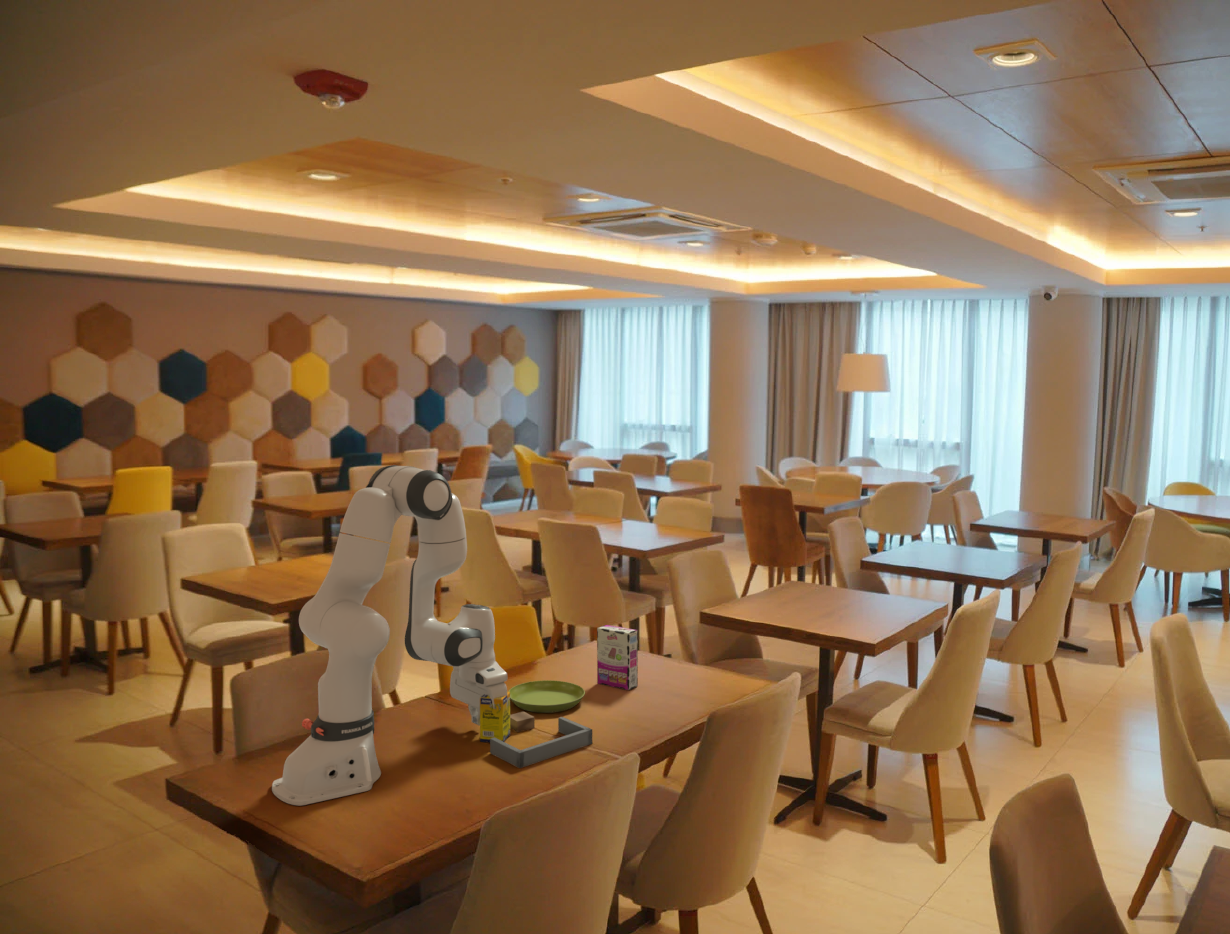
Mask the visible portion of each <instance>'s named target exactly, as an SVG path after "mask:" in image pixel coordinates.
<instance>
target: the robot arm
mask: <svg viewBox="0 0 1230 934" xmlns="http://www.w3.org/2000/svg"><path fill="white" fill-rule="evenodd" d="M401 516H405V517H412V518H413V517H414V519H415V520H416V523H417V534H418V535H417V536H418V537H417V539H418V553H417V558H416V559H415V560H414V561H413V563H412V566H411V571H410V582H409V598H408V618H407V623H406V630H405V632H404V646H405V650H406V652H407V654H408V655H409V656H410V658H412V659H414V660H416V661H425V662H431V663H436V664H439V665H440V664H441V665H445V666H449V667H452V669H453V670H452V671H451V674H450V683H449V694H450V696H451V698H453V699H455V700H457V701H460V702H462V703H464V704H466V705H467V706H468V710H469V714H470V717H471V723H472V724H475V725H478V726H479V727H480V697H481V696H483V695H484V694H486V695H488V696H489V697H490V698H491V700H492V704H493V708H494V698H498V697H502V696H507V692H508V687H507V684H506V683H505V682H508V672H506V671H505V669H503V668H502V667H501V666H500V665H499V663H498V662H497V661H496V653H495V650H494V644H495V641H496V640H495V639H496V635H495V634H496V632H495V631H496V629H495V619H494V614H493V611H492V609H491V608H490V607H488V606H486V605H481V604H473V603H471V604H470V603H467V604H464V605H462V606H461V607H460V610H459V613H458V614H457V615H456V617H455V618H453V619H452V620H451V621H450V622H447V623H446V622H443V621H439V620H438V619H437V618H436V616H435V614H434V612H435V611H434V608H435V589H436V585H437V582H438V581H439V579H441V578H444V577H446V576H449V575H452V574H453V573H455V572H457V571H458V570H459V569H460V568H461V567H462V566H463V565H464V563H465V561H466V559H467V554H468V540H467V530H466V523H465V516H464V512H463V508H462V505H461V501H460V499H459V498H458V496H457V495H456V494H454V493H452V489H451V485H450V484H449V482H448V480H447V479H446V477H444V476H443V475H442V474H441V473H438V472H436V471H434V470H431V469H422V468H418V467H417V466H412V465H395V464H393V465H392V464H391V465H385V466H383V467H380V468H378V469H377V470H376V471H375V472H374V473H373V474H372V475H371V477H370V479H369V481H368V483H367V484H366V486H365V487H364V488H361V489H360V488H359V490H357V491H355V493H354V495H353V496H352V498H351V500H350V501H349V504H348V507H347V509H346V512H345V514H344V517H343V520H342V523H341V526H340V530H339V533H338V537H337V542H336V545H335V548H334V553H333V556H332V560H331V563H330V567H329V568H328V572H327V573H326V576H325V578H324V579H323V581H322V583H321V585H320V587H319V589H317V592H316V594H315V595H314V596H313V597H312V598H311V599H309V600H308V601H307V602H305V604H304V605H303V607H302V608H301V610H300V611H299V616H298V624H299V625H298V626H299V629H300V630H301V632H302V633H303V634H304V635H305V637H306V638H308V639H309V641H311V642H312V643H314V644H315V645H317V646H320V647H322V648H325V649H327V650H328V662H327V666H326V669H325V672H324V673H323V674H322V675H321V676H320V678H319V679H318V682H317V686H318V687H317V693H318V695H317V699H318V700H317V701H318V715H317V716H316V719H315V720H314V721H313V720H311V719H310V718H304V719H303V720H302V722H301V727H302V728H304V729H306V730H308V731H310V735H309V736H308V737H307V738H306V739H305V740H304V741H303V742H301V743H300V745H299V746H298V747H297V748H296V749H294V750H293V751H292V752H291V753H290V754H289V755H288V756H287V757H286V760H285V761H284V764H283V771H282V777H280V778H277V779H275V780H273V782H272V784H271V791H272V794H273V795H274V796H275V797H276V798H278V799H279V800H280V801H282V802H283V803H286V804H288V805H292V806H297V807H298V806H300V807H301V806H306V805H310V804H311V805H312V804H315V803H319V802H323V801H329V800H332V799H338V798H341V797H346V796H350V795H354V794H359V793H363V792H367V791H370V790H372V788H373V784H374V783H375V782H377V780H379V778H380V777H381V774H382V771H381V768H380V765H379V763H378V762H379V761H378V758H377V755H376V747H375V739H374V734H375V714H374V710H373V709H372V708H373V706H372V705H373V704H372V703H373V702H372V696H373V695H372V693H373V692H372V682H373V681H372V680H373V679H372V678H373V672H374V669H375V668H374V667H375V664H376V661H377V658H378V655H380V654H381V653H382V652H383V651H384V650H385V648H386V646H387V645H388V643H389V641H390V635H391V634H390V633H391V629H390V625H389V623H388V621H387V619H386V618H385V617H384V616H383V615H381V614H380V613H379V612H378V611H376V610H375V609H373V607H370V606H367V605H363V603H364V600H365V599H366V597H367V595H368V593H369V592H370V590H371V589H372V588H373V586H374V585H376V584H377V583H379V582H380V580H381V579H382V578H383V576H384V572H385V567H386V563H387V560H388V555H389V552H390V551H389V550H390V548H391V543H392V539H393V534H394V529H395V525H396V523H397V521H398V520H399V518H400V517H401Z"/></svg>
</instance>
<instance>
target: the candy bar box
mask: <svg viewBox="0 0 1230 934" xmlns="http://www.w3.org/2000/svg"><path fill="white" fill-rule="evenodd" d="M638 637H639V634H638V629H632V628H627V627H623V626H616V625H615V626H614V625H610V624H606V625H602V626H599V627H597V628H596V643H597V644H596V651H597V652H596V657H597V659H596V664H597V665H596V666H597V668H596V670H597V674H596V676H597V680H596V681H597V682H596V683H597V684H599V685H602V686H606V687H611V688H616V689H620V690H626V691H630V690H633V689H636V688H637V687H638V685H639V684H638V679H639V678H638V677H639V676H638V675H639V674H638V673H639V672H638V668H639V667H638V662H639V661H638V660H639V659H638V656H639V655H638V654H639V653H638V649H639V648H638V647H639V646H638V645H639V644H638Z"/></svg>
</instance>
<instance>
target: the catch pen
mask: <svg viewBox="0 0 1230 934" xmlns="http://www.w3.org/2000/svg"><path fill="white" fill-rule="evenodd" d="M557 719H558V726H557V728H558V732H559V733H561V734H563V735H562V736H561V737H558V738H554V739H551V740H548V741H544V742H541V743H539V744H535V745H532V746H529V747H526V748H523V749H520V748H519V749H518V748H517V747H515V746H513V745H511V744H509V743H507V742H505V741H504V742H503V741H501V740H499V739H497V738H495V737H494V738H491V739H490V742H489V743H490V744H489V746H490V747H489V749H490V751H489V753H490V754H491V755H493V756H495V757H497V758H499V759H501V760H503V761H504V762H506V763H508V764H511V765H512V766H514V767H516V768H519V769H522V768H524V767H527V766H531V765H533V764H536V763H539V762H542V761H546V760H548V759H551V758H554V757H556V756H560V755H563V754H566V753H569V752H571V751H575V750H577V749H581V748H583V747H586V746H589V745H592V744H593V729H592V728H590V727H587V726H585V725H582V724H580V723H578V722H576V721H574V720H571V719H568V718H566V717H563V716H560V717H558V718H557Z"/></svg>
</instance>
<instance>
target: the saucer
mask: <svg viewBox="0 0 1230 934" xmlns="http://www.w3.org/2000/svg"><path fill="white" fill-rule="evenodd" d="M507 692H510V702H512V703H513V704H514V705H515V706H516V707H517V708H519V709H521V710H524V711H527V712H531V713H538V714H539V713H540V714H548V713H551V714H552V713H559V712H560V713H561V712H564V711H568V710H570V709H572V708H574V707H575V706H577V705H578V704H579V702H581V700H582V699H583V698H584V696H585V694H586V691H585V689H584V688H583V687H582V686H580V685H578V684H577V683H576V684H575V683H573V682H568V681H562V680H543V679H542V680H534V681H527V682H523V683H520V684H516V685H514V686H512V687H511V688H509V690H507Z"/></svg>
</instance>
